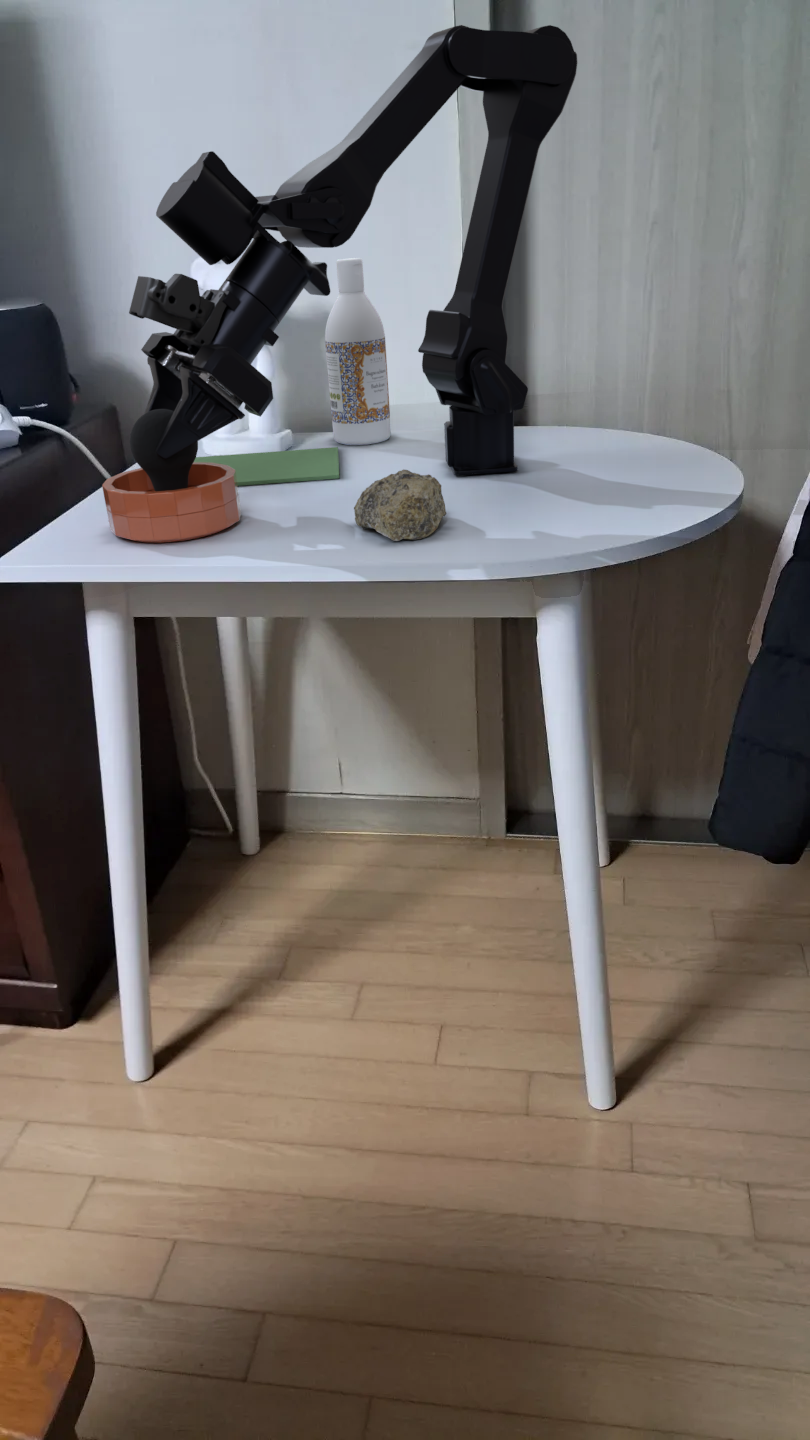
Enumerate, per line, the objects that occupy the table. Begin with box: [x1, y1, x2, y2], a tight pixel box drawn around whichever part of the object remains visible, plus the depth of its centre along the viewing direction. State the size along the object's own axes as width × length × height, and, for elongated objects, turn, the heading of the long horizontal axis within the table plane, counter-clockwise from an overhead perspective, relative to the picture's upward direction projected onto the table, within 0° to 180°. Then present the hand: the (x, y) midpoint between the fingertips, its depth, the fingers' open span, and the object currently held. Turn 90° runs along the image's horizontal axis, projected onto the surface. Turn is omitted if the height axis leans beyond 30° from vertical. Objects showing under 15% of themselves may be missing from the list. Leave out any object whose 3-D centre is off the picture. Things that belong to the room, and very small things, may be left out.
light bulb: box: [129, 409, 199, 491], centre depth 92 cm, size 6×6×10 cm
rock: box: [353, 469, 447, 542], centre depth 88 cm, size 7×8×4 cm
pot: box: [101, 462, 242, 544], centre depth 93 cm, size 12×12×4 cm
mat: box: [194, 446, 340, 487], centre depth 113 cm, size 20×14×1 cm
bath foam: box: [324, 257, 392, 446], centre depth 120 cm, size 7×7×20 cm
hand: (149, 450), depth 90 cm, fingers closed on light bulb, 6 cm apart
